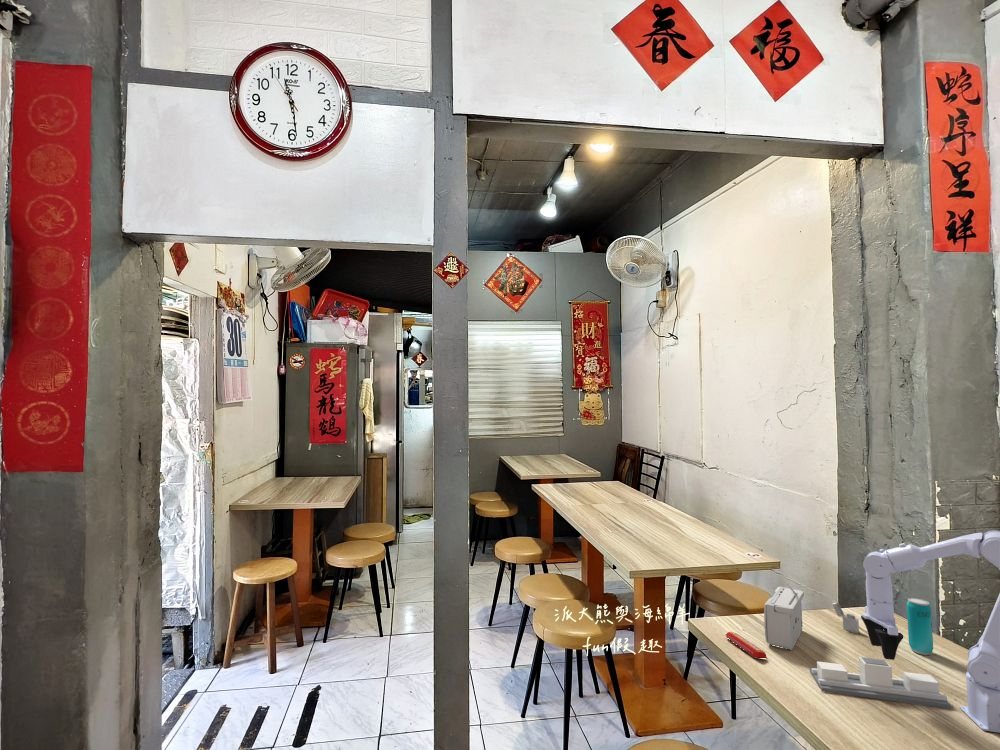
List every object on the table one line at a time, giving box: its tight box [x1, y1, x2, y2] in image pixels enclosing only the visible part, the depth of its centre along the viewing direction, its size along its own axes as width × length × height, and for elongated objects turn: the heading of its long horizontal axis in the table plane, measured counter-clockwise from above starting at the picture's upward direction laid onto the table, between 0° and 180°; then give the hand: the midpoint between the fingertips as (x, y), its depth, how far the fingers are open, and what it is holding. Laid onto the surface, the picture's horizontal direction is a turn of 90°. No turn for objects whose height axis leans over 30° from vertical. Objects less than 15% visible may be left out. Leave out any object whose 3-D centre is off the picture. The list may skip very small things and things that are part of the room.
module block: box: [858, 656, 893, 688], centre depth 134 cm, size 4×6×6 cm, turn 73°
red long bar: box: [725, 631, 768, 660], centre depth 156 cm, size 16×4×3 cm, turn 12°
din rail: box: [809, 667, 952, 710], centre depth 134 cm, size 10×28×2 cm, turn 74°
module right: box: [902, 671, 940, 694], centre depth 131 cm, size 4×6×4 cm, turn 74°
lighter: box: [831, 601, 860, 634], centre depth 171 cm, size 7×2×8 cm, turn 38°
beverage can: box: [906, 597, 934, 656], centre depth 155 cm, size 6×6×15 cm
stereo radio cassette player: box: [763, 583, 805, 651], centre depth 164 cm, size 21×8×20 cm, turn 141°
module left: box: [816, 661, 848, 682], centre depth 137 cm, size 4×6×4 cm, turn 74°
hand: (882, 652), depth 135 cm, fingers open, 7 cm apart
